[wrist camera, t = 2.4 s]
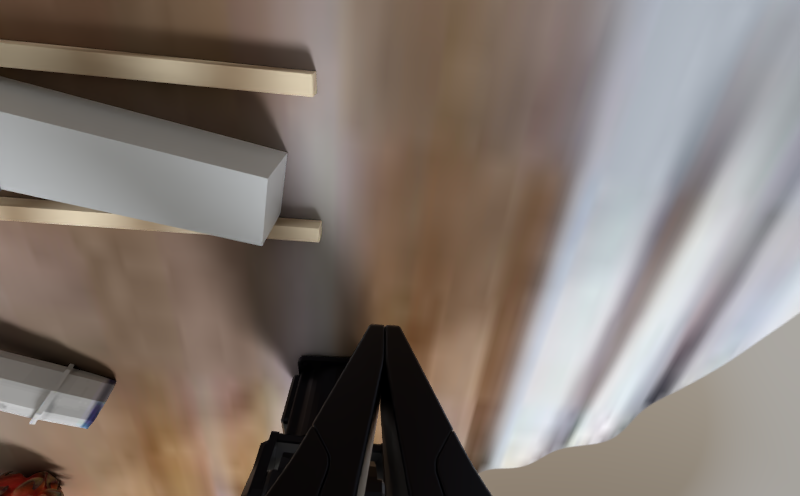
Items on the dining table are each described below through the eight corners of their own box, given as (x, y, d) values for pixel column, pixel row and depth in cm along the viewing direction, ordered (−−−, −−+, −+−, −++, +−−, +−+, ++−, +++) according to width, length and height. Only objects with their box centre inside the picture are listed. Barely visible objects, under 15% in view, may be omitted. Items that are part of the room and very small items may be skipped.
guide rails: (316, 71, 17) (312, 74, 16) (321, 233, 22) (319, 242, 22) (-102, 29, 16) (-129, 29, 15) (8, 211, 21) (-8, 219, 20)
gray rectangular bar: (288, 149, 20) (267, 178, 16) (281, 211, 22) (261, 248, 18) (-42, 61, 17) (-153, 73, 14) (-13, 141, 19) (-101, 169, 16)
